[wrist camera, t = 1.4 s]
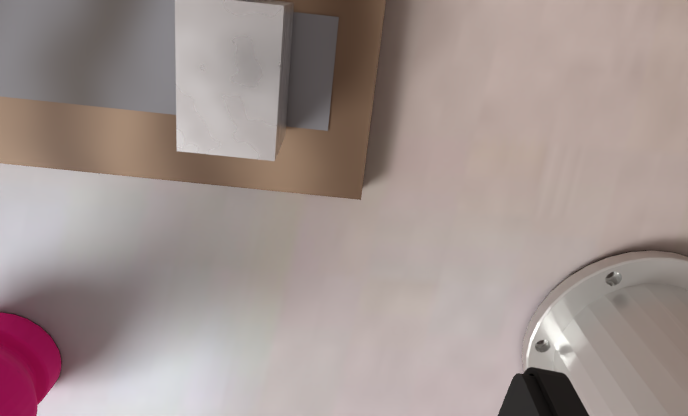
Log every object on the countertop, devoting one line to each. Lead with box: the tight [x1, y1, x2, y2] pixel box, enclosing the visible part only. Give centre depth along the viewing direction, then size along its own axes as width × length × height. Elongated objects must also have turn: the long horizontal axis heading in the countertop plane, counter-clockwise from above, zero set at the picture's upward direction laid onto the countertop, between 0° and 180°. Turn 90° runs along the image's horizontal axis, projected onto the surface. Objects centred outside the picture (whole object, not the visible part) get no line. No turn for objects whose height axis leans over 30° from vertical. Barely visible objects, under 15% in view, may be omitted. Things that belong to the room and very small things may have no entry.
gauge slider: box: [175, 0, 294, 161], centre depth 22 cm, size 4×9×4 cm, turn 174°
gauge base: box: [0, 0, 386, 200], centre depth 23 cm, size 28×12×8 cm, turn 84°
